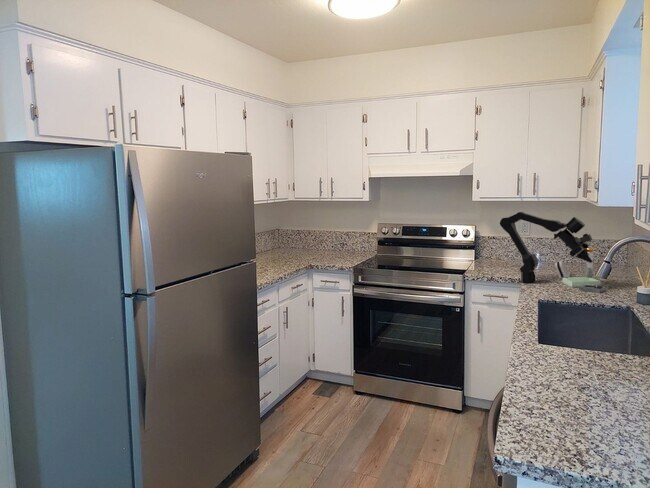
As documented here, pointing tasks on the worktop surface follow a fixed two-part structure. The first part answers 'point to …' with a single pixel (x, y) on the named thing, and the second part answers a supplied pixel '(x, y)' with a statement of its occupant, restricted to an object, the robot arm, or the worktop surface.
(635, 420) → the worktop surface
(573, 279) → the parts tray
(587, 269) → the lock pin
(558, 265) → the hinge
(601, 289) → the tensioner block
